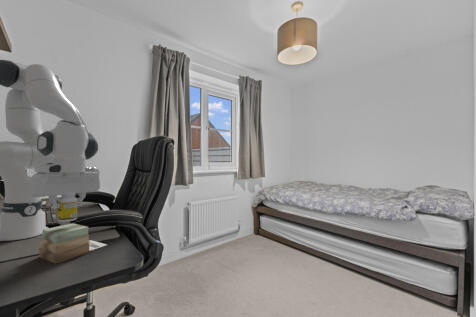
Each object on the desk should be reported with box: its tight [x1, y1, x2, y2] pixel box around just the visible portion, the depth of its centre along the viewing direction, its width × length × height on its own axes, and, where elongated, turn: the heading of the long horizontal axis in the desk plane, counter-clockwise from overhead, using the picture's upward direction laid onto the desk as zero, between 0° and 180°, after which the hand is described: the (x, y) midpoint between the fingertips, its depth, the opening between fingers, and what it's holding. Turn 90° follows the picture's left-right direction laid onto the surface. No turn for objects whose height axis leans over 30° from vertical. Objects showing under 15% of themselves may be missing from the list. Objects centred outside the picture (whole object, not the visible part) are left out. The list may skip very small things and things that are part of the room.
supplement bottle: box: [56, 192, 78, 223], centre depth 75 cm, size 5×5×10 cm
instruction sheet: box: [89, 239, 108, 252], centre depth 84 cm, size 10×6×1 cm, turn 66°
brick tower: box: [38, 222, 90, 264], centre depth 75 cm, size 10×10×9 cm
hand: (67, 207), depth 75 cm, fingers closed on supplement bottle, 5 cm apart
